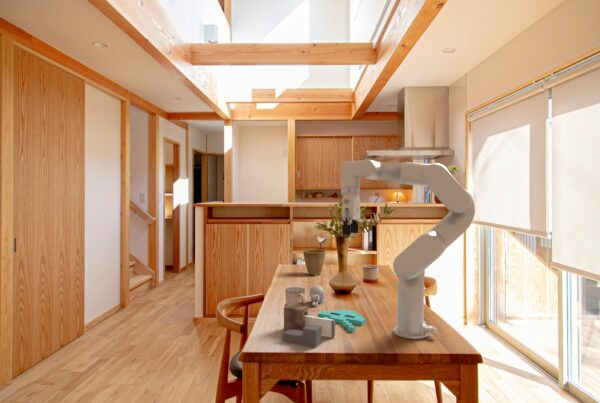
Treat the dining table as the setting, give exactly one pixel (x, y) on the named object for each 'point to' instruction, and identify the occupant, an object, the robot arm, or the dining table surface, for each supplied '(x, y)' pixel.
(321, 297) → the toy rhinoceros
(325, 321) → the gate
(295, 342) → the grey stepped block
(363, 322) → the alien figure
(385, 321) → the dining table surface
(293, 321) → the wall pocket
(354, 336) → the dining table surface
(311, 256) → the plant pot
